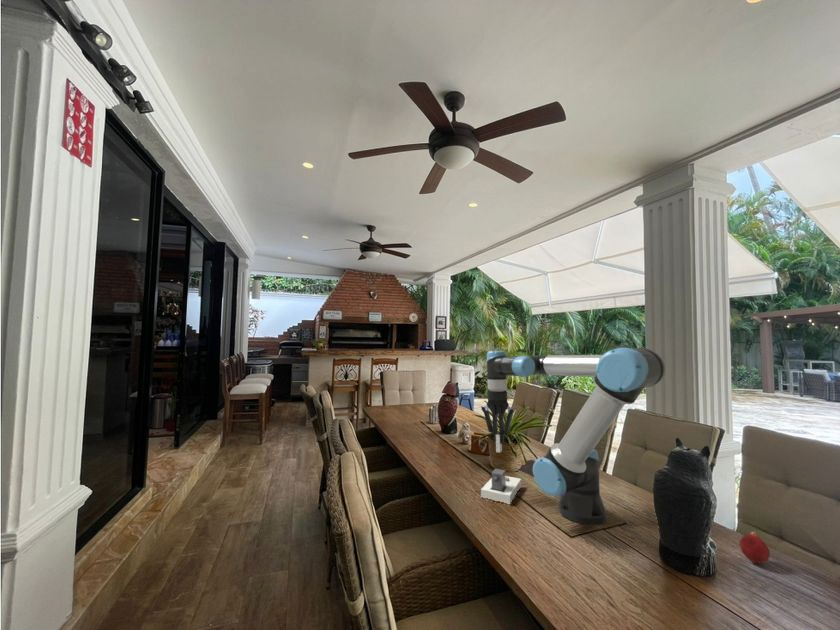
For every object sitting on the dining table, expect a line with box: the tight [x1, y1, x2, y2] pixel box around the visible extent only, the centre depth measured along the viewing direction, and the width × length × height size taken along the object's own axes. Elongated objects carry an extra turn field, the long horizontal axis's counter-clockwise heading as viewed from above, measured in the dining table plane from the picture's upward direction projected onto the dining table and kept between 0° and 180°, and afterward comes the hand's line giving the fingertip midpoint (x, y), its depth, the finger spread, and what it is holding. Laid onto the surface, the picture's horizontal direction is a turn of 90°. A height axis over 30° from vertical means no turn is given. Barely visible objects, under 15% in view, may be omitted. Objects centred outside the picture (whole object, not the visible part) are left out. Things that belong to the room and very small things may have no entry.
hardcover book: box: [518, 459, 536, 477], centre depth 158 cm, size 16×23×2 cm
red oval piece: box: [739, 531, 771, 565], centre depth 94 cm, size 6×6×8 cm
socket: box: [480, 475, 522, 504], centre depth 137 cm, size 11×18×4 cm, turn 151°
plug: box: [491, 468, 506, 492], centre depth 133 cm, size 4×7×9 cm, turn 152°
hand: (499, 451), depth 134 cm, fingers closed
